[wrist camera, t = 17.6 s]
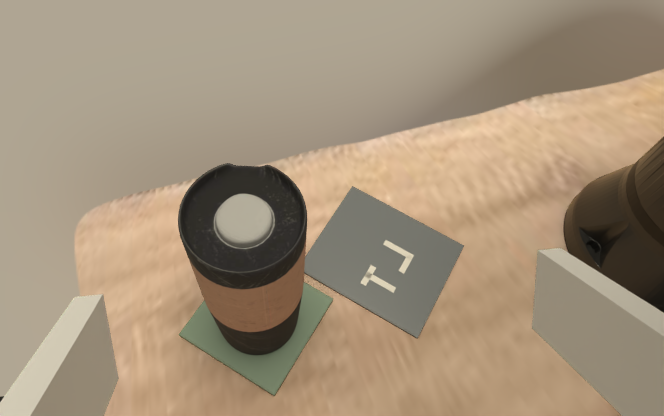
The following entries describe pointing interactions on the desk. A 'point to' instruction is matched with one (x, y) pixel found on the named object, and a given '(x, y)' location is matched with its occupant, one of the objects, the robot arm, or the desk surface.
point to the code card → (383, 260)
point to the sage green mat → (266, 367)
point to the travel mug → (247, 252)
